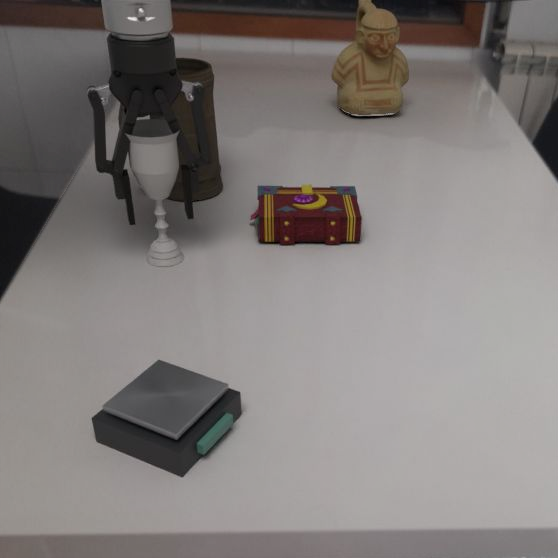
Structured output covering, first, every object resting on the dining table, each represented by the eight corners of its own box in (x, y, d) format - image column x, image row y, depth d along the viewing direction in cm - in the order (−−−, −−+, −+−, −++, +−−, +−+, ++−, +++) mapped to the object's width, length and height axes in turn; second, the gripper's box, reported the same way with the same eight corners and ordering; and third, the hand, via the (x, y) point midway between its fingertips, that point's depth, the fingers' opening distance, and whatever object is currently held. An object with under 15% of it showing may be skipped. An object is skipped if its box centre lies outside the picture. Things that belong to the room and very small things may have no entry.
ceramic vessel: (340, 125, 148) (346, -8, 134) (321, 97, 164) (324, -25, 149) (418, 123, 152) (432, -7, 138) (392, 96, 167) (402, -24, 153)
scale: (96, 441, 69) (91, 418, 67) (161, 385, 76) (158, 362, 74) (188, 480, 65) (185, 456, 63) (247, 417, 73) (246, 393, 71)
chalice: (127, 262, 97) (108, 131, 87) (156, 242, 103) (141, 115, 92) (174, 274, 95) (160, 141, 85) (201, 252, 101) (191, 125, 90)
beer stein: (203, 170, 125) (187, 50, 113) (239, 189, 119) (226, 65, 106) (123, 197, 117) (96, 70, 105) (158, 219, 111) (133, 88, 98)
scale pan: (102, 411, 67) (101, 405, 67) (159, 364, 73) (158, 359, 73) (176, 440, 64) (176, 434, 64) (229, 389, 71) (228, 383, 70)
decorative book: (361, 245, 105) (363, 213, 102) (250, 245, 103) (248, 213, 100) (353, 212, 114) (354, 182, 111) (250, 212, 112) (249, 181, 109)
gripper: (48, 42, 76) (84, 238, 90) (232, 38, 82) (240, 222, 96) (47, 27, 82) (81, 213, 95) (219, 24, 88) (228, 199, 101)
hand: (160, 217), depth 95 cm, fingers open, 7 cm apart
